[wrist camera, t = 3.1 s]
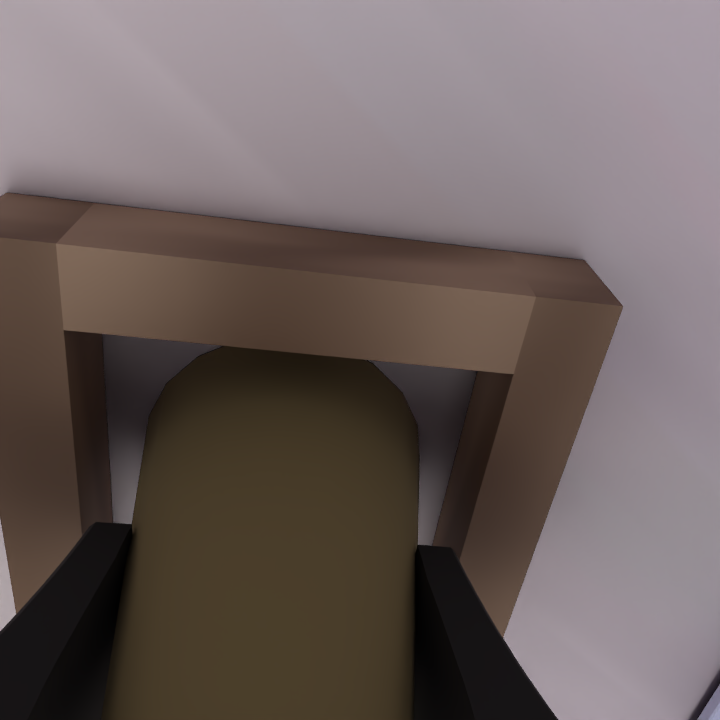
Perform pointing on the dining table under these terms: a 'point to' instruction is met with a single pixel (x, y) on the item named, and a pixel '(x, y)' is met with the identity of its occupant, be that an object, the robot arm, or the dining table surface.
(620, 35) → the dining table surface
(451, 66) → the dining table surface
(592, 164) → the dining table surface
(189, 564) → the cork
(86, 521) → the walnut socket
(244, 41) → the dining table surface
